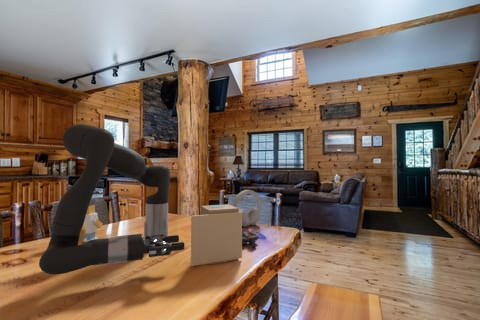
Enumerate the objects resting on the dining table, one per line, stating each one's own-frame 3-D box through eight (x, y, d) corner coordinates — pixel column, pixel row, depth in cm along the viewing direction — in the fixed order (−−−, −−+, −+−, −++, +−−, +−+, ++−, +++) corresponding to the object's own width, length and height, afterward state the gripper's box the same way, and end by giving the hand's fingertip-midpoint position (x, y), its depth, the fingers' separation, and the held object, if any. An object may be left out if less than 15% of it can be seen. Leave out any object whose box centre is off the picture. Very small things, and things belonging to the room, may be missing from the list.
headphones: (238, 230, 133) (238, 191, 134) (229, 227, 140) (229, 190, 140) (265, 225, 145) (265, 189, 145) (255, 222, 151) (255, 188, 152)
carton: (208, 264, 87) (209, 210, 87) (200, 255, 96) (201, 205, 96) (238, 259, 91) (238, 207, 92) (227, 251, 100) (228, 204, 101)
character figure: (76, 239, 115) (77, 199, 115) (102, 236, 120) (103, 197, 120) (74, 244, 108) (75, 201, 108) (102, 241, 113) (103, 199, 113)
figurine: (235, 220, 132) (267, 233, 106) (235, 231, 132) (268, 247, 106) (212, 223, 126) (240, 237, 100) (212, 234, 126) (240, 252, 100)
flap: (240, 256, 91) (240, 211, 92) (241, 257, 90) (242, 212, 91) (190, 264, 84) (191, 215, 84) (191, 265, 83) (192, 216, 83)
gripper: (126, 242, 69) (186, 235, 76) (126, 229, 82) (177, 225, 89) (126, 270, 69) (186, 261, 76) (125, 253, 82) (177, 247, 88)
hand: (181, 241), depth 82 cm, fingers open, 8 cm apart
